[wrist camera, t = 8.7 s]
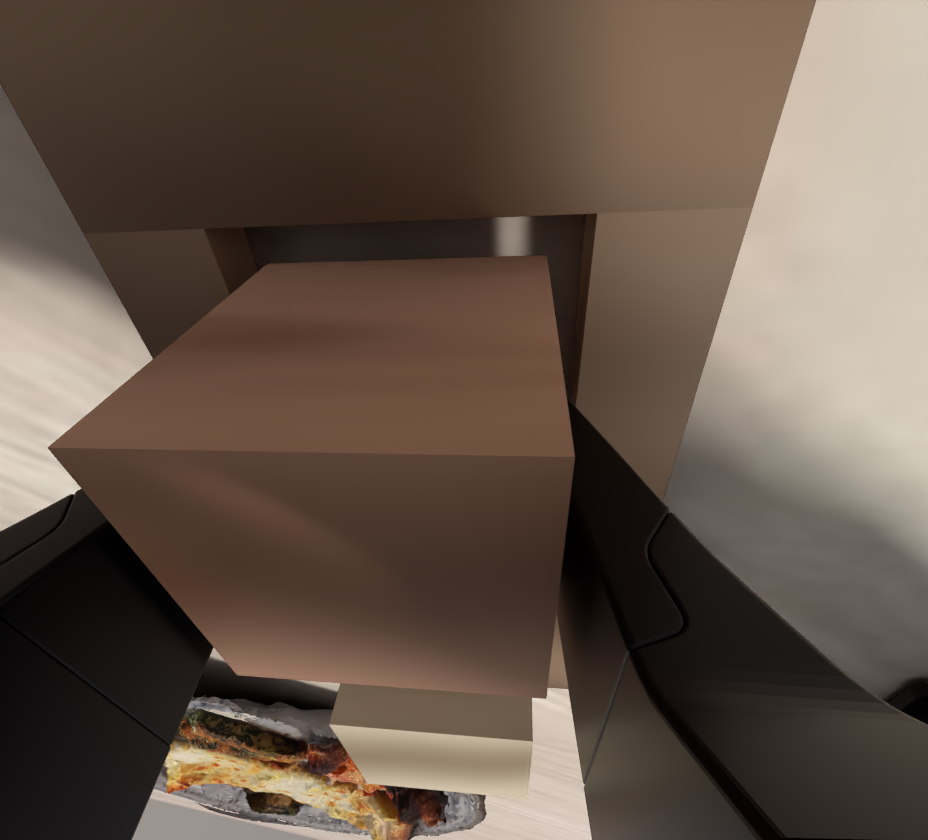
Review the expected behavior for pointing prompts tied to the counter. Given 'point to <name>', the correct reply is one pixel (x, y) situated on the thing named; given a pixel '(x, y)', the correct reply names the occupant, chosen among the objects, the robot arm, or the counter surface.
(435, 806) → the food plate
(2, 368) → the counter surface
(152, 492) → the terracotta block
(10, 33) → the puzzle board
